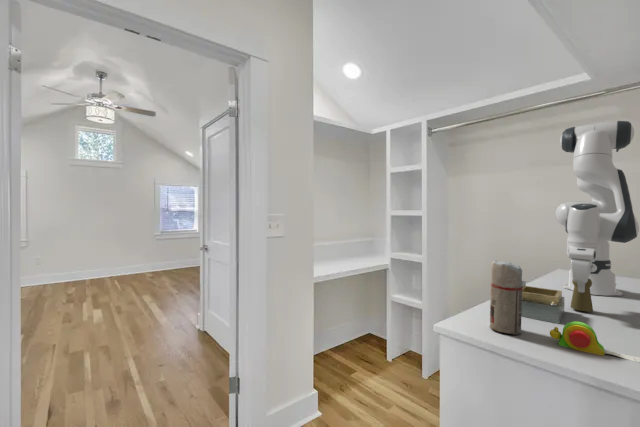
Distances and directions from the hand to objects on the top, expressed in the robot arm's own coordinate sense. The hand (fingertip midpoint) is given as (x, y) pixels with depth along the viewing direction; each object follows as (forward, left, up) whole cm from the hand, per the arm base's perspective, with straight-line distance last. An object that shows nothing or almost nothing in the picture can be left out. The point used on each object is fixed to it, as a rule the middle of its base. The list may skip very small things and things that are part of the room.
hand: (582, 290), depth 106 cm
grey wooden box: (+13, -10, -7) cm, 18 cm away
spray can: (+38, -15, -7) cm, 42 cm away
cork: (0, 0, -7) cm, 7 cm away
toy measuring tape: (+38, +5, -8) cm, 39 cm away
